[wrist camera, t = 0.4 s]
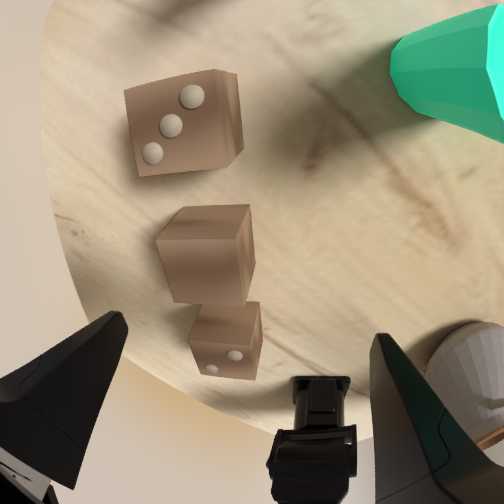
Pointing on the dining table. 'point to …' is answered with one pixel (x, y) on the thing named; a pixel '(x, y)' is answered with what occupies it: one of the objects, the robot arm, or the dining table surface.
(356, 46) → the dining table surface
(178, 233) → the plain block
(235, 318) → the two dot block
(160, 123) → the three dot block
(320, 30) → the dining table surface
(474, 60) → the candle
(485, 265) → the dining table surface
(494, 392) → the coffee pot
